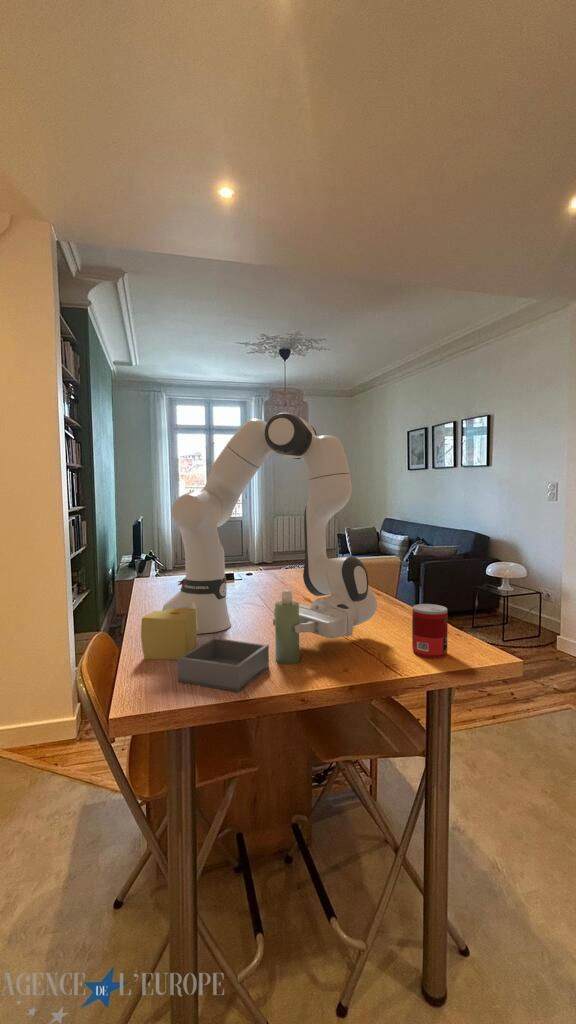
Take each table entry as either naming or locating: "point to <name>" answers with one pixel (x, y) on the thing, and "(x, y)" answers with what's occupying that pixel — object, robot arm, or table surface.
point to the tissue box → (168, 633)
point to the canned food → (429, 630)
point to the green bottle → (286, 629)
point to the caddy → (223, 664)
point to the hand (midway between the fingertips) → (284, 625)
